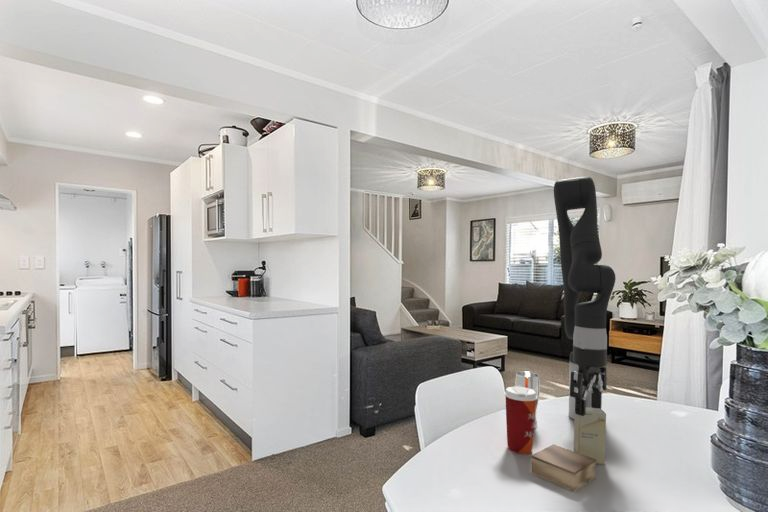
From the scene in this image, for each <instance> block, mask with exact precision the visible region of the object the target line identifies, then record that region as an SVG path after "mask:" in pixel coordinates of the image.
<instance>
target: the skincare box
mask: <svg viewBox="0 0 768 512" xmlns="http://www.w3.org/2000/svg"><path fill="white" fill-rule="evenodd" d="M606 424H607V413H606V412H605V411H604V410H603V409H602V408H601V409H600V408H590V407H586V412H585V415H584V416H581V415H577V414H576V413H575V420H574V433H573V451H574V452H577V453H579V454H582V455H585V456H588V457H590V458H593V459H596V464H597V465H605V464H606V433H607V432H606V431H607V429H606V427H607V425H606Z"/></svg>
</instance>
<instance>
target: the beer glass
mask: <svg viewBox="0 0 768 512" xmlns="http://www.w3.org/2000/svg"><path fill="white" fill-rule="evenodd" d="M514 381H515V382H514V387H525V388H529V389H532V390H534V391H535V392H536V396H537V397H538V398H537V400H536V407H535V420H534V429H536V428H538V420H537V409H538V405H539V399H540V392H541V390H540V388H541V387H540V375H539V374H538V373H536V372H534V371H533V372H532V371H522V370H521V371H517V372H515V380H514Z"/></svg>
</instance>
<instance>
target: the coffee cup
mask: <svg viewBox="0 0 768 512" xmlns="http://www.w3.org/2000/svg"><path fill="white" fill-rule="evenodd" d="M503 395H504V397H505V415H506V416H505V417H506V419H505V420H506V423H505V424H506V441H507V442H506V443H507V448H508V450H509V451H510V452H513V453H516V454H521V455H526V454H527V455H528V454H530V453H532V452H533V443H534V431H535V428H534V420H535V407H536V400H537V398H538V397H537V396H536V392H535V391H534V390H532V389H529V388H525V387H515V386H508V387H506V388H505V391H504V393H503Z"/></svg>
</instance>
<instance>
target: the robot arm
mask: <svg viewBox="0 0 768 512" xmlns="http://www.w3.org/2000/svg"><path fill="white" fill-rule="evenodd" d="M596 192H597V190H596V185H595V182H594V179H593V178H592V177H591V176H580V177H579V176H578V177H571V178H565V179H558V180H556V181H555V182H554V185H553V198H554V206H555V213H556V214H555V215H556V221H557V227H558V228H557V229H558V235H559V237H558V238H559V257H560V258H559V259H560V267H561V275H562V285H563V286H562V287H563V298H564V299H563V301H564V304H563V305H564V307H563V309H564V318H563V319H564V331H565V334H566V336H567V338H568V339H569V340H573V343H572V351H571V352H570V353H569V365H568V366H569V367H568V368H569V371H568V372H569V382H568V417H569V418H570V419H572V420H574V421H575V413H576V414H577V415H581V416H584V415H585V412H586V407H590V408H600V409H602V401H603V400H602V399H603V398H602V397H603V394H604V391H606V390H607V384H608V383H607V381H608V380H607V379H608V378H607V367H606V366H607V363H608V362H607V361H608V360H607V359H608V358H607V357H608V356H607V355H608V334H607V311H608V306H609V301H610V298H611V295H612V293H613V290H614V287H615V284H616V280H617V279H616V273H615V271H614V269H613V268H612V267H611V266H609V265H606V264H598V263H599V262H600V261H601V260H602V257H603V254H602V253H603V252H602V247H601V242H600V237H599V231H598V204H597V193H596ZM580 209H584V210H583V213H582V214H581V216H580V218H579V219H578V220H577V222H576V223H575V225H574V224H573V223H572V221H571V219H570V217H569V215H568V211H573V210H580ZM583 293H585V294H588V293H589V294H596V296H595V298H594V299H593V300H590V301H584V302H583V301H582V302H579V299H580V298H581V295H582V294H583ZM578 302H579V303H578Z"/></svg>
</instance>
